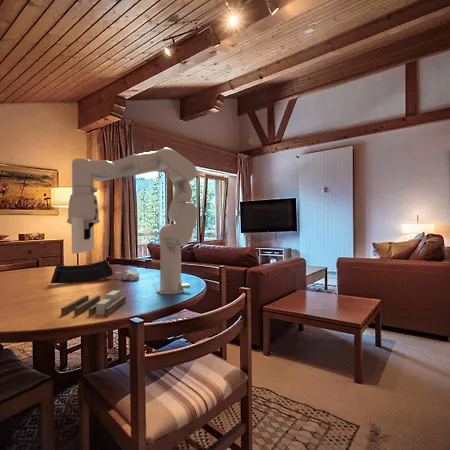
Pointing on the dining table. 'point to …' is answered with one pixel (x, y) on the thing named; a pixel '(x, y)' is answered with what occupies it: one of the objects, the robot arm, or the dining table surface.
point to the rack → (90, 306)
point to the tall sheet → (81, 236)
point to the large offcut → (113, 296)
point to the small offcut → (102, 306)
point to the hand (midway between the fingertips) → (83, 238)
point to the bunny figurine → (128, 275)
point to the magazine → (81, 273)
